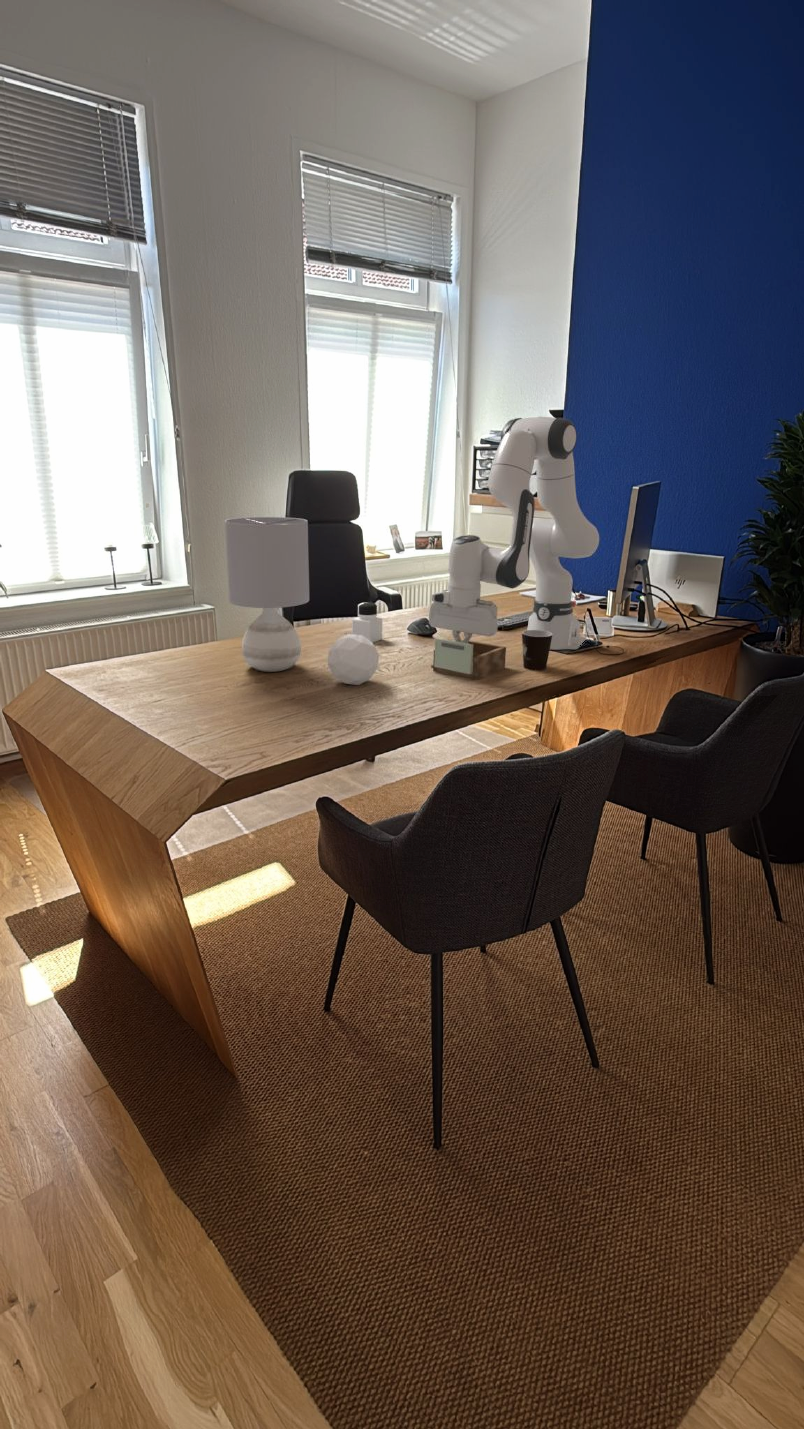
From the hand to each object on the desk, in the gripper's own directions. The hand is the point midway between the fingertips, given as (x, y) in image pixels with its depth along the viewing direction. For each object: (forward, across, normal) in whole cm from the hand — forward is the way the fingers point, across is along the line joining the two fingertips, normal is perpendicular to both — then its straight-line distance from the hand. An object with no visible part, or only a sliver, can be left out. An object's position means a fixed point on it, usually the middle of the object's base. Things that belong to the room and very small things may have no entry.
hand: (461, 647), depth 216 cm
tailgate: (+6, 0, +4) cm, 7 cm away
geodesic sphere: (+8, +17, +26) cm, 32 cm away
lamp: (+8, +44, +29) cm, 53 cm away
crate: (+7, 0, -5) cm, 9 cm away
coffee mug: (+7, -13, -20) cm, 25 cm away
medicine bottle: (+8, +44, -14) cm, 47 cm away
